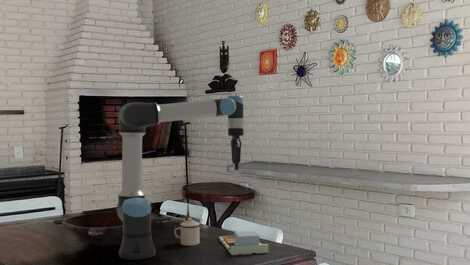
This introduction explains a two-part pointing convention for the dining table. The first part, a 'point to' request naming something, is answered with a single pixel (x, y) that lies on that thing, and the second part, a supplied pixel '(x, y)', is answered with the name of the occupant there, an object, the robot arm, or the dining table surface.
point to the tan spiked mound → (188, 214)
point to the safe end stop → (249, 249)
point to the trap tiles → (230, 240)
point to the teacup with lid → (189, 232)
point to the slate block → (246, 238)
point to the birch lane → (226, 243)
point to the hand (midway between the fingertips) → (236, 176)
